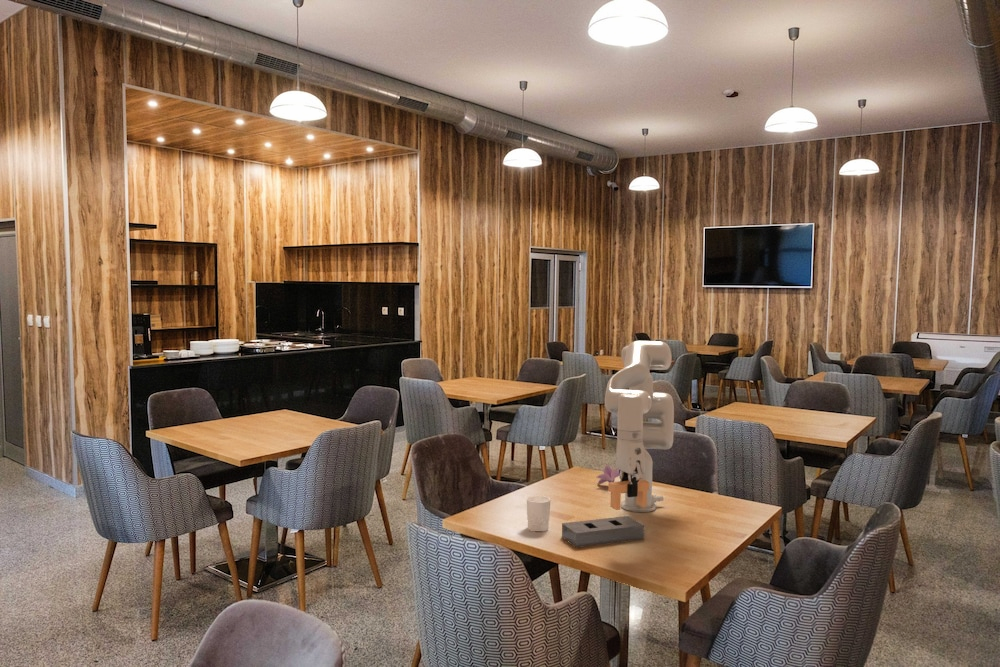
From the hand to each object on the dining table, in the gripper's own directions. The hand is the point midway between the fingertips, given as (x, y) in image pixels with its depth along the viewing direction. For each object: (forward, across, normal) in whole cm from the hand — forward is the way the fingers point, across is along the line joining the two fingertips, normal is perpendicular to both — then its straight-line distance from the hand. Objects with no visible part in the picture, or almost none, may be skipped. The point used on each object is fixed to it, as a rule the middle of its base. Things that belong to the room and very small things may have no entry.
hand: (628, 494), depth 214 cm
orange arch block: (+4, 0, 0) cm, 4 cm away
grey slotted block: (+17, +12, +2) cm, 21 cm away
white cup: (+18, +27, +18) cm, 37 cm away
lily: (+19, +64, -29) cm, 73 cm away
